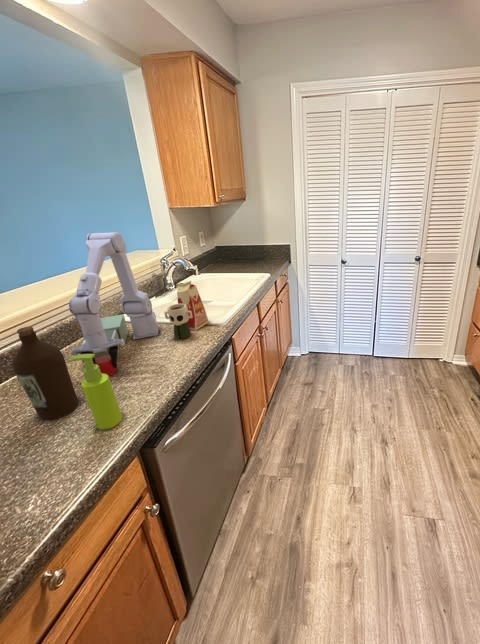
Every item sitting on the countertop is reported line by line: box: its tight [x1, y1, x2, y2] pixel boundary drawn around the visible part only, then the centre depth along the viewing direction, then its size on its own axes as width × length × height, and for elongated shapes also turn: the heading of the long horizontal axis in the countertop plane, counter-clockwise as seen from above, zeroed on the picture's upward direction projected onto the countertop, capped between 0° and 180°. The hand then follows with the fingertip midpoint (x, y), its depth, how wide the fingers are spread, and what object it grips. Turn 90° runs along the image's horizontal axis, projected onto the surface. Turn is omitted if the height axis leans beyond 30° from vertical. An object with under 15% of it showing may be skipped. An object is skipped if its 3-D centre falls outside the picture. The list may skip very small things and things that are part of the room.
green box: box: [81, 313, 129, 344], centre depth 129 cm, size 14×13×8 cm
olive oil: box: [12, 326, 79, 421], centre depth 86 cm, size 11×11×25 cm
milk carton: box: [175, 280, 210, 331], centre depth 136 cm, size 9×9×20 cm
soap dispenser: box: [67, 354, 123, 430], centre depth 81 cm, size 6×7×20 cm
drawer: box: [79, 329, 120, 363], centre depth 117 cm, size 17×11×6 cm, turn 21°
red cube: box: [94, 355, 117, 377], centre depth 107 cm, size 5×5×5 cm
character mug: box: [163, 303, 193, 340], centre depth 128 cm, size 11×7×13 cm, turn 89°
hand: (106, 368), depth 107 cm, fingers closed on red cube, 5 cm apart
